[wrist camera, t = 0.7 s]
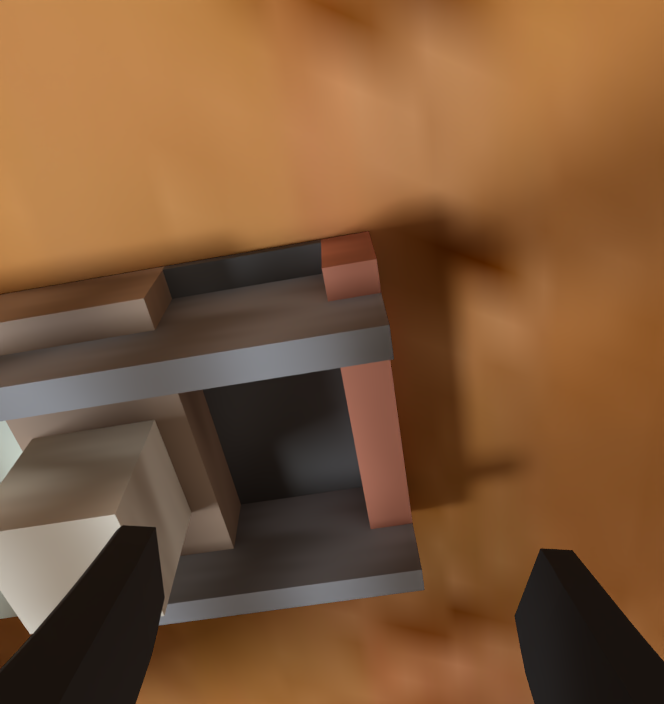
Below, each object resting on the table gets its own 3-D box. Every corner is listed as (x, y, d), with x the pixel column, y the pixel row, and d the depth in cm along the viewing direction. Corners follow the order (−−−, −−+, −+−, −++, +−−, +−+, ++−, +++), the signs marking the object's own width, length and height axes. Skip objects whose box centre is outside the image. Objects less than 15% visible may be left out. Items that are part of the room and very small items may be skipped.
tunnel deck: (-9, 571, 24) (-71, 674, 20) (-177, 324, 18) (-309, 402, 15) (408, 512, 23) (426, 609, 19) (368, 231, 17) (384, 287, 14)
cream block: (80, 528, 20) (30, 634, 16) (31, 438, 18) (-37, 536, 14) (191, 512, 20) (164, 615, 16) (154, 419, 18) (115, 514, 14)
